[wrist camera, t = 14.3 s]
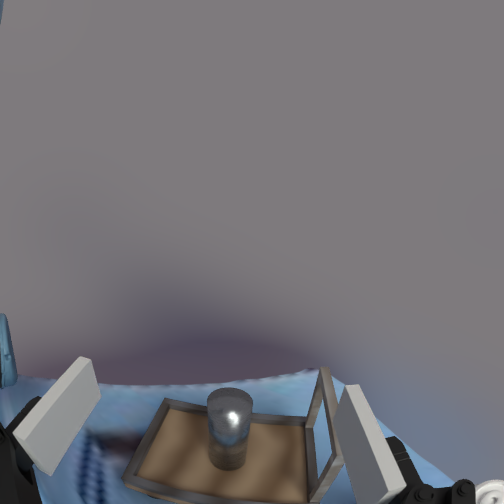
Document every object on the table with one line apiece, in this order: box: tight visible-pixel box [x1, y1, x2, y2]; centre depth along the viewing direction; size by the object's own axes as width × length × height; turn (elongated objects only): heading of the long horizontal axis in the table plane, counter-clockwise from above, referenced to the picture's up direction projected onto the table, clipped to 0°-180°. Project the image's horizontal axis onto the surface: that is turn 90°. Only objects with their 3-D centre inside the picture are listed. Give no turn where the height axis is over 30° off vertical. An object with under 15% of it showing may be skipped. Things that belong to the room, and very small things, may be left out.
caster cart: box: [121, 367, 345, 504], centre depth 29 cm, size 24×18×19 cm
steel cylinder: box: [207, 388, 253, 471], centre depth 28 cm, size 5×5×12 cm
